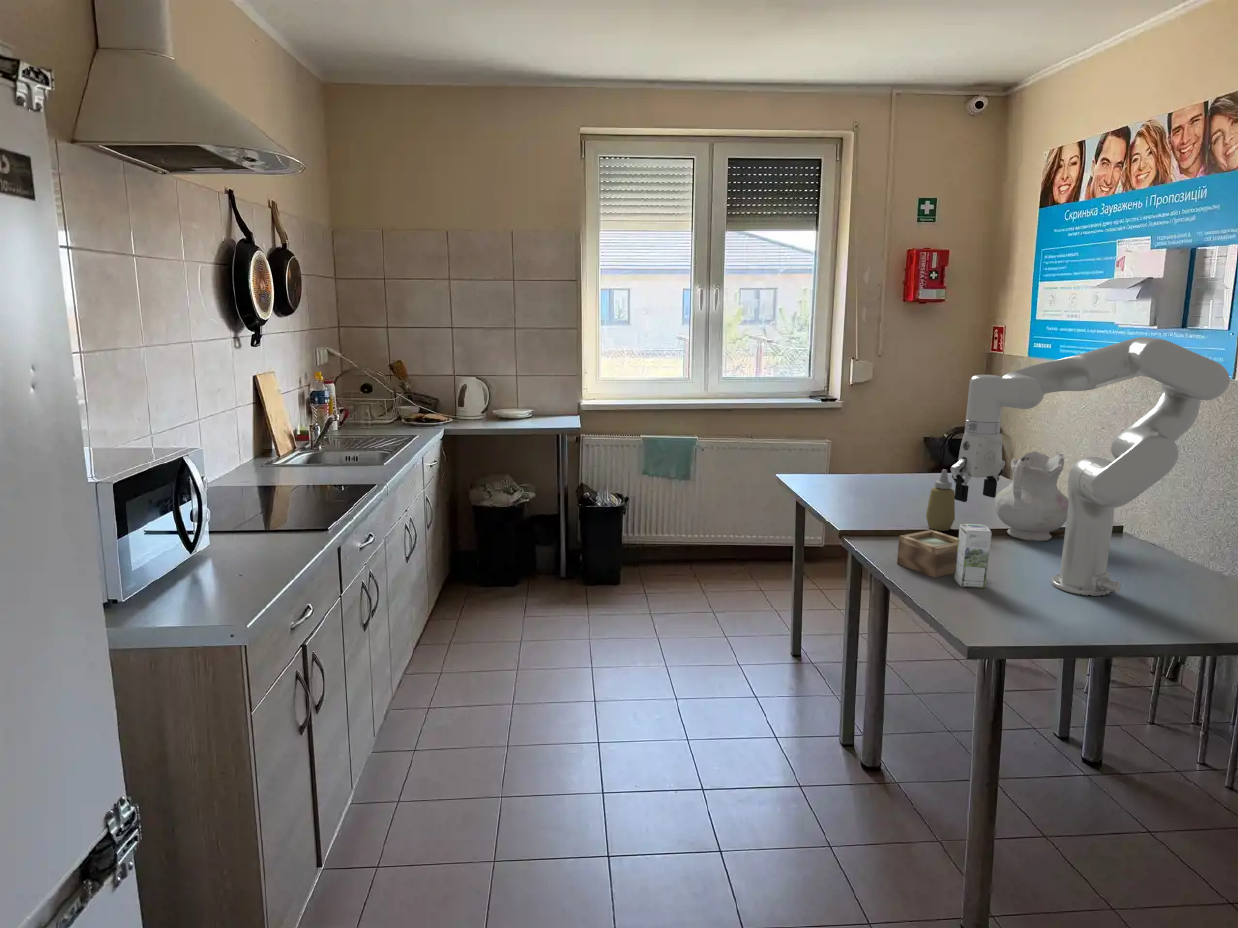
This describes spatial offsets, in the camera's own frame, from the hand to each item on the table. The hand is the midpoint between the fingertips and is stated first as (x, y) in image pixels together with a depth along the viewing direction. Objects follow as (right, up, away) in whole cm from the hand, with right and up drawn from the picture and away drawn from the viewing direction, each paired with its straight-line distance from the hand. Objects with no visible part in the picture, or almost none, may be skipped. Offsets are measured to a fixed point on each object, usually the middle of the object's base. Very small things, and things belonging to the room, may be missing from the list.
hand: (974, 498), depth 196 cm
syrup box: (0, -21, +2) cm, 21 cm away
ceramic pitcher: (+33, -13, +42) cm, 55 cm away
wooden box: (-5, -18, +14) cm, 24 cm away
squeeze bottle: (+10, -11, +48) cm, 51 cm away
